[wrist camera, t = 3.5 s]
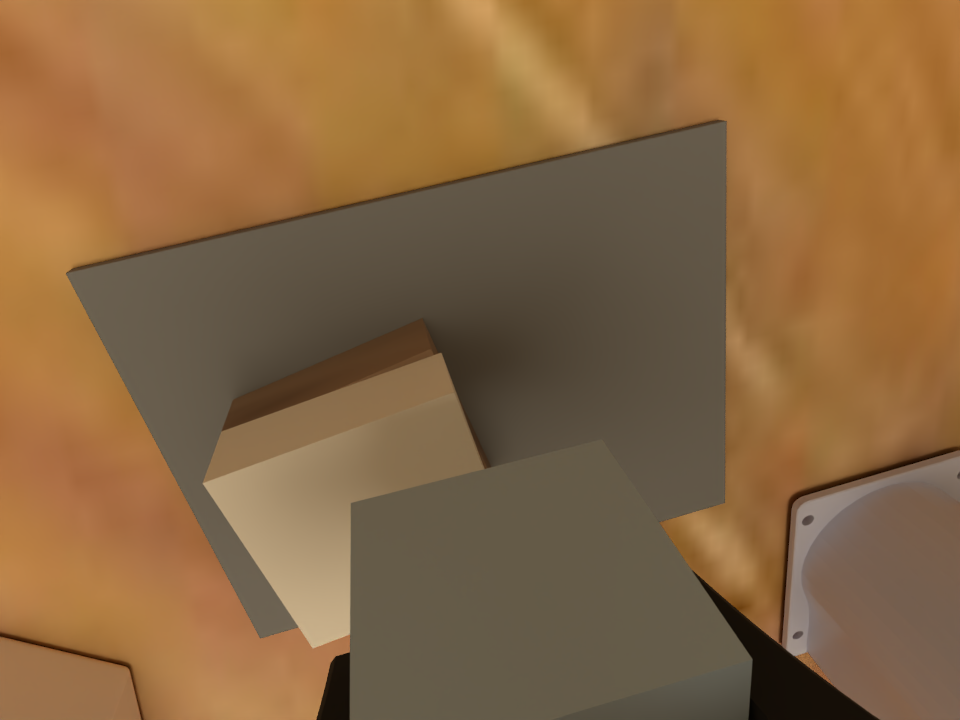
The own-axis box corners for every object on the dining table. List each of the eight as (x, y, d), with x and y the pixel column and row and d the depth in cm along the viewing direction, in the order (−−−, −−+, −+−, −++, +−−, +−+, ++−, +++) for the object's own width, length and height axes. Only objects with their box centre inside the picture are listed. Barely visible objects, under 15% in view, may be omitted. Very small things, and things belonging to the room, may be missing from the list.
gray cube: (616, 613, 13) (737, 862, 9) (407, 672, 12) (434, 963, 8) (601, 439, 11) (752, 659, 7) (350, 503, 10) (349, 779, 6)
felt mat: (719, 496, 23) (724, 502, 23) (261, 629, 22) (260, 638, 21) (718, 120, 17) (726, 121, 17) (72, 268, 15) (65, 273, 15)
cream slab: (502, 517, 18) (520, 569, 16) (317, 586, 18) (312, 648, 16) (441, 352, 16) (454, 391, 14) (221, 431, 15) (202, 483, 13)
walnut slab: (491, 468, 20) (506, 509, 18) (328, 538, 20) (326, 588, 18) (422, 318, 17) (431, 348, 16) (232, 399, 17) (217, 440, 15)
